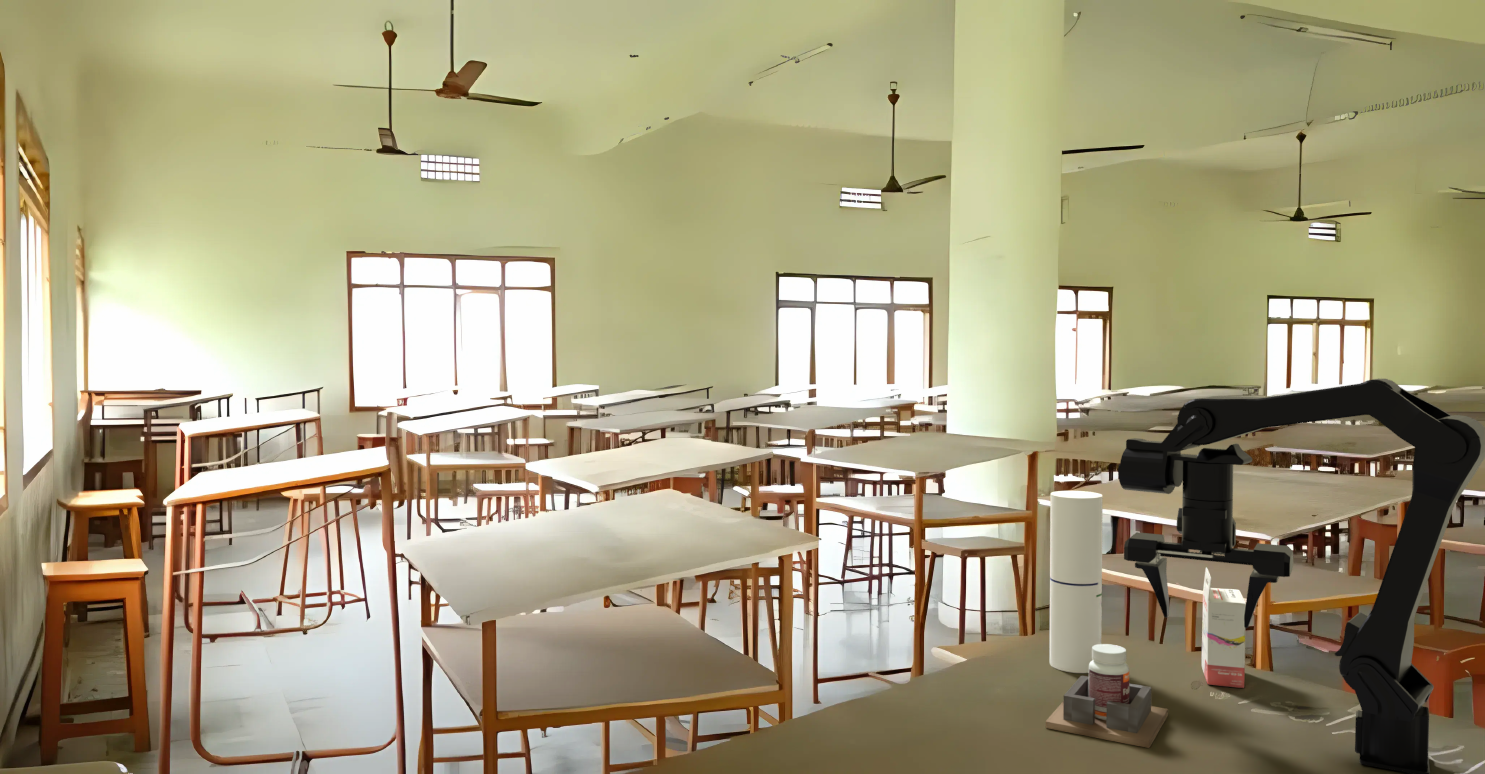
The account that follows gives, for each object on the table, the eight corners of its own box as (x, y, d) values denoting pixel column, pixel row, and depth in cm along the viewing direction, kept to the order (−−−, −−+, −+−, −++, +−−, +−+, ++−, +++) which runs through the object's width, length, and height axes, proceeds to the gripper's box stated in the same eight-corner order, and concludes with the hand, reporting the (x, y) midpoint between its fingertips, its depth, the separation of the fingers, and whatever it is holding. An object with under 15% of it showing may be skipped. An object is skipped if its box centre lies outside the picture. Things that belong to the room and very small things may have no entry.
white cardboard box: (1246, 689, 138) (1248, 581, 137) (1206, 685, 139) (1207, 578, 138) (1238, 669, 146) (1240, 567, 145) (1200, 666, 147) (1201, 565, 147)
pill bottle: (1132, 723, 124) (1132, 655, 123) (1091, 720, 125) (1091, 653, 124) (1126, 708, 128) (1126, 643, 128) (1086, 706, 129) (1086, 641, 129)
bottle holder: (1167, 714, 128) (1168, 685, 128) (1149, 747, 118) (1149, 715, 118) (1071, 697, 135) (1071, 669, 135) (1045, 727, 125) (1045, 696, 125)
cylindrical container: (1039, 661, 150) (1039, 492, 149) (1076, 654, 153) (1077, 489, 152) (1073, 675, 144) (1075, 499, 142) (1112, 668, 147) (1113, 495, 145)
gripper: (1297, 494, 128) (1295, 616, 129) (1141, 484, 138) (1140, 597, 139) (1290, 507, 119) (1288, 639, 120) (1123, 495, 129) (1122, 617, 130)
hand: (1205, 621), depth 127 cm, fingers open, 9 cm apart
